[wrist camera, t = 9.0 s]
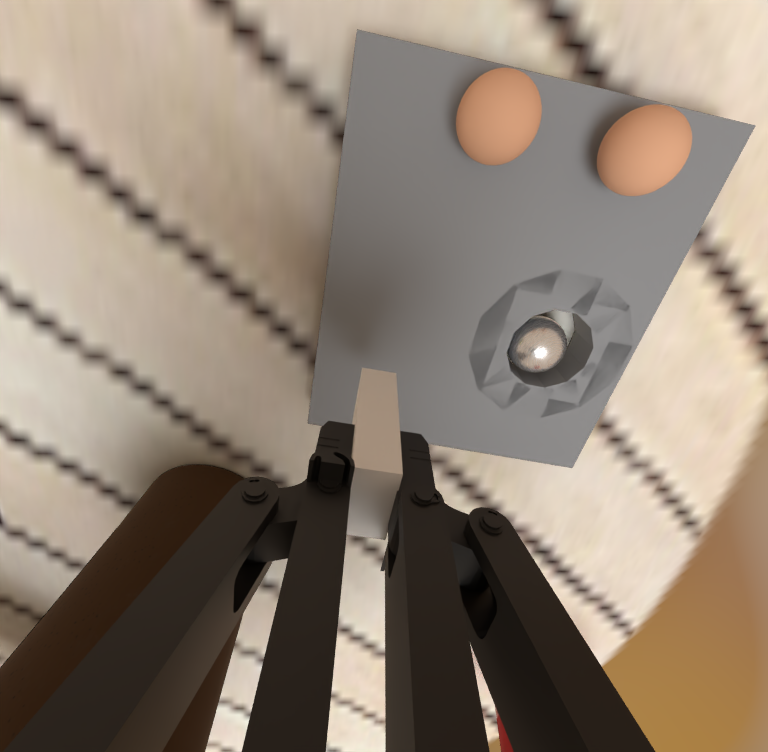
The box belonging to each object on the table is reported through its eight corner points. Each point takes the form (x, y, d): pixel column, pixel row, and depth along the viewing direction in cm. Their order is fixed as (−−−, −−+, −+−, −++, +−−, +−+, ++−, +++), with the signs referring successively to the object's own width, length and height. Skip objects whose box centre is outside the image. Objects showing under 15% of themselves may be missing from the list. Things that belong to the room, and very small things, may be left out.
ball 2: (489, 353, 24) (519, 387, 22) (505, 307, 22) (540, 338, 20) (532, 348, 26) (565, 380, 23) (551, 303, 24) (589, 333, 21)
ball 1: (442, 156, 18) (452, 155, 15) (463, 68, 16) (477, 48, 13) (512, 171, 18) (534, 173, 15) (538, 86, 17) (568, 70, 14)
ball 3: (571, 185, 18) (605, 189, 15) (603, 101, 17) (646, 89, 14) (638, 199, 18) (683, 207, 16) (675, 118, 17) (731, 110, 14)
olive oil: (265, 454, 29) (-139, 1385, 7) (288, 554, 34) (94, 1280, 12) (121, 457, 29) (-692, 1347, 7) (164, 555, 34) (-243, 1261, 12)
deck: (314, 401, 27) (307, 423, 25) (361, 45, 18) (357, 29, 16) (558, 443, 28) (572, 468, 26) (713, 129, 19) (755, 125, 17)
